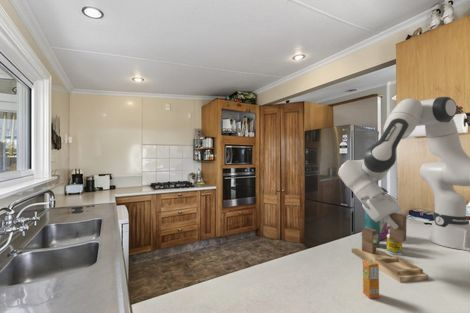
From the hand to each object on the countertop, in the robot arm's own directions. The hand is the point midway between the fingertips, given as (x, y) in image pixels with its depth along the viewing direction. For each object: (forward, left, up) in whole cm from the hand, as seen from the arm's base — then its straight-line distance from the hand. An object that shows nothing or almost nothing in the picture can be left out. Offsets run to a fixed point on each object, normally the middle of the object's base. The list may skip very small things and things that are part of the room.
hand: (400, 226), depth 83 cm
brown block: (0, -1, -5) cm, 5 cm away
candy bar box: (-20, -32, -16) cm, 41 cm away
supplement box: (+21, +11, -16) cm, 29 cm away
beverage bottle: (-9, -24, -16) cm, 31 cm away
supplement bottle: (-12, -15, -16) cm, 25 cm away
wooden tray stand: (0, -6, -16) cm, 17 cm away
